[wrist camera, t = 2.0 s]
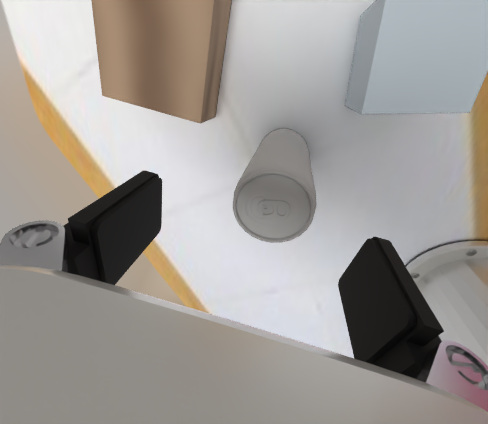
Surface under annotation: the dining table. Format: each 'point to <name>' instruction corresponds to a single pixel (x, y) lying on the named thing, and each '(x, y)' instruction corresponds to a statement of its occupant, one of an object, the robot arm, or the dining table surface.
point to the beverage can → (277, 189)
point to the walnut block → (162, 53)
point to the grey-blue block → (419, 57)
